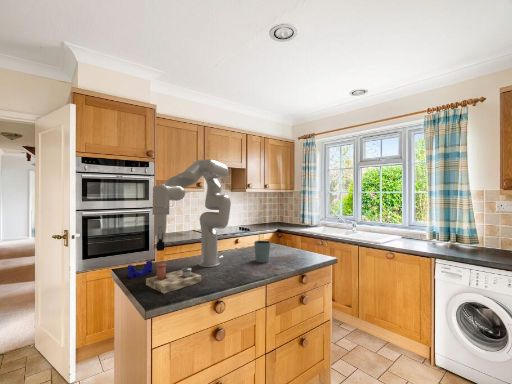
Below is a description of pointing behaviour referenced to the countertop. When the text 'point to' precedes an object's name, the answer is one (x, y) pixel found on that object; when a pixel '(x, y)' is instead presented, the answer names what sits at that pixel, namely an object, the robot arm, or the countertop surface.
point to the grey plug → (186, 272)
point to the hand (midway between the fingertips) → (160, 250)
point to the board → (172, 281)
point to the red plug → (161, 271)
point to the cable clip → (134, 274)
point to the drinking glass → (262, 251)
